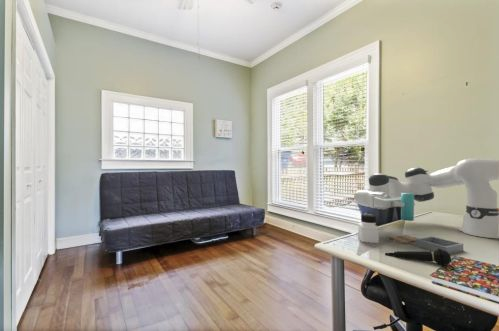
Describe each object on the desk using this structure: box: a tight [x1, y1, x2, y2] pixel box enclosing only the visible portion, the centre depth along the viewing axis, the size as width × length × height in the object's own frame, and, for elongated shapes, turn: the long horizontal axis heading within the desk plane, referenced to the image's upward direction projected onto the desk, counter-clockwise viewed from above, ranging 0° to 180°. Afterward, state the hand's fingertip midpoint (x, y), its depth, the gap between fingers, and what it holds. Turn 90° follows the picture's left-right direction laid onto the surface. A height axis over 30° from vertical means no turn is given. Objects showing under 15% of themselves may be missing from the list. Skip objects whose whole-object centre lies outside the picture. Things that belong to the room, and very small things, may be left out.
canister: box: [400, 193, 415, 222], centre depth 113 cm, size 5×5×12 cm
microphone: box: [384, 248, 452, 267], centre depth 89 cm, size 6×6×20 cm
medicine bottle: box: [357, 213, 380, 244], centre depth 112 cm, size 7×7×12 cm
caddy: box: [414, 236, 464, 255], centre depth 102 cm, size 12×12×3 cm
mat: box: [388, 234, 419, 245], centre depth 113 cm, size 12×8×1 cm, turn 114°
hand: (409, 204), depth 112 cm, fingers closed on canister, 5 cm apart
